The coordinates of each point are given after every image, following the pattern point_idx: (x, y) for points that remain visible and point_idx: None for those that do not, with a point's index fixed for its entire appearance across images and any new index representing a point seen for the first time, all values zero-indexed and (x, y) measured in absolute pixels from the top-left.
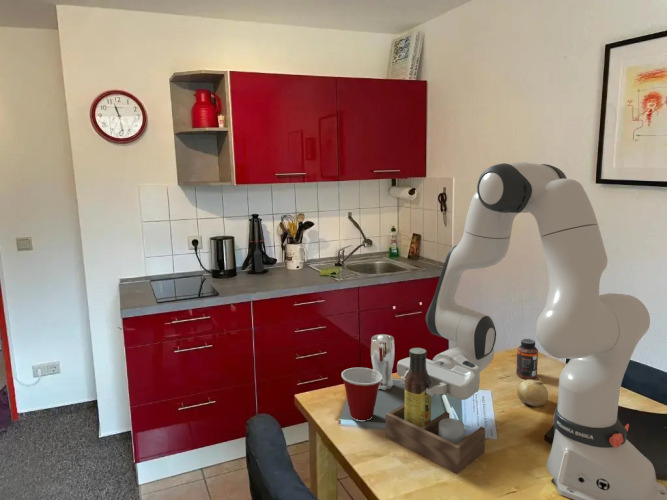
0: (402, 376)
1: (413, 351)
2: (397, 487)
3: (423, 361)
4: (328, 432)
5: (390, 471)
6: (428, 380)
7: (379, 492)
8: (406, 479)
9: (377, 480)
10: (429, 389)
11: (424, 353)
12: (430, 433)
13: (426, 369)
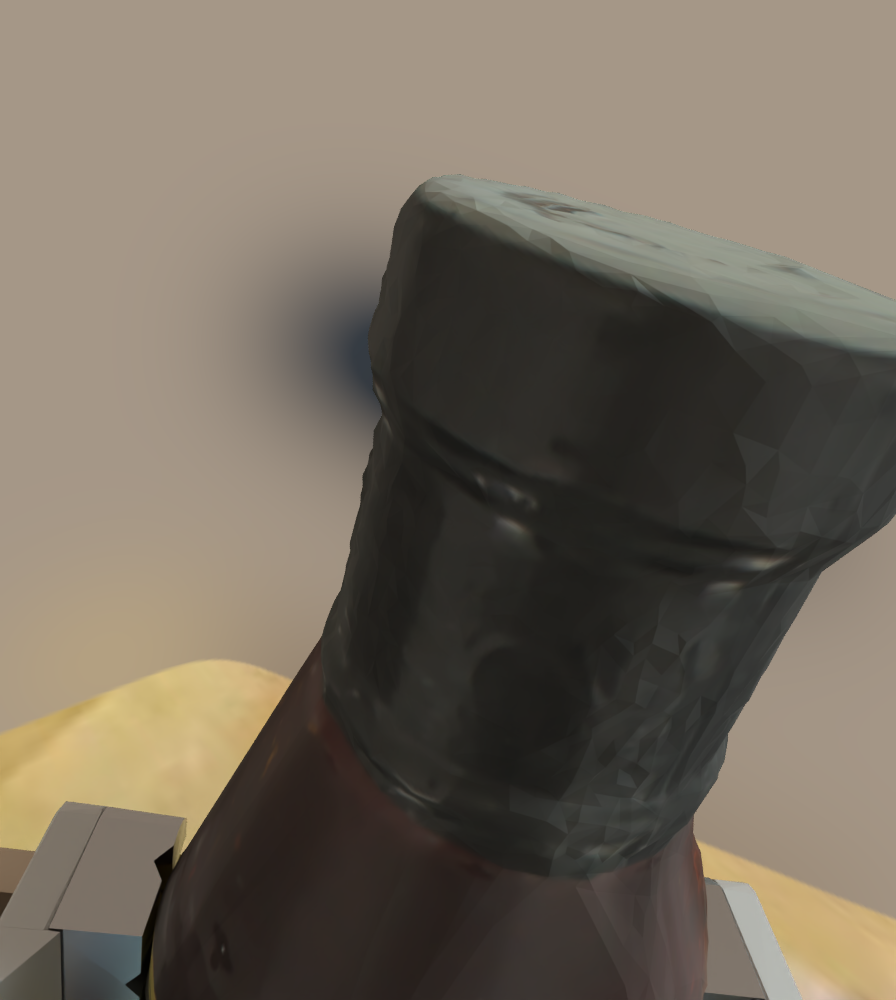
0: (762, 914)
1: (688, 234)
2: (151, 717)
3: (378, 439)
4: (785, 881)
5: None
6: (202, 869)
7: (215, 660)
8: (130, 785)
9: (269, 710)
10: (110, 811)
11: (411, 196)
12: (9, 874)
13: (335, 782)
